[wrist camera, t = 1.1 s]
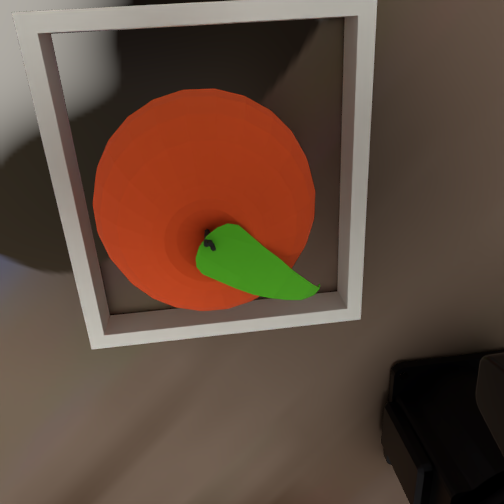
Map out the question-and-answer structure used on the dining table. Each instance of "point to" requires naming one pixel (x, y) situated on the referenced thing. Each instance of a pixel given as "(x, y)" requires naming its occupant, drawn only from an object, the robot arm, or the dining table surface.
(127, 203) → the clementine
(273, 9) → the white flat square frame
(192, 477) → the dining table surface
